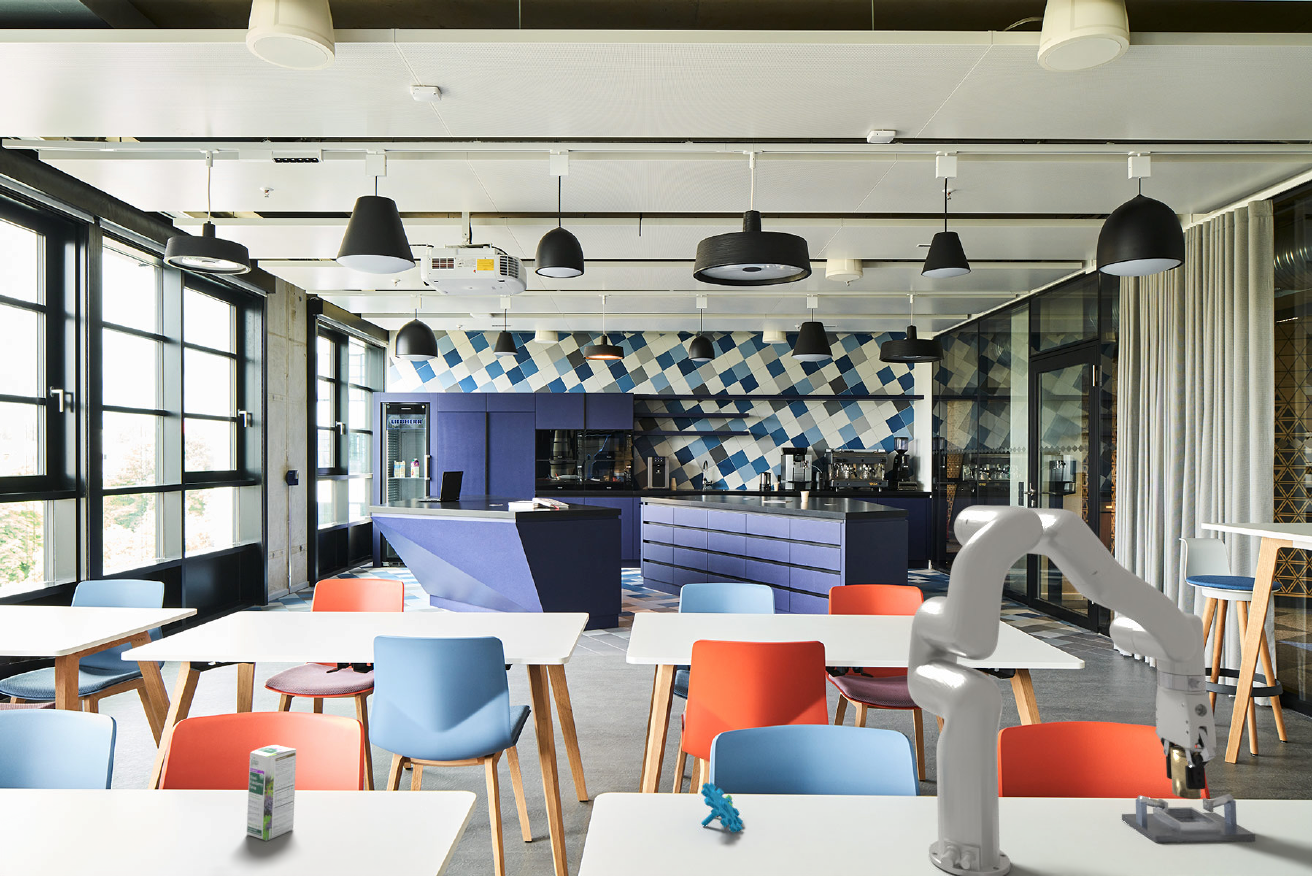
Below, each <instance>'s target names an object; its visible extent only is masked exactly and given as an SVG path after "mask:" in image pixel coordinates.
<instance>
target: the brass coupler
mask: <svg viewBox="0 0 1312 876" xmlns="http://www.w3.org/2000/svg"><path fill="white" fill-rule="evenodd" d="M1170 750H1171V773H1172V779H1171V790H1172V791H1171V792H1172V794H1173V795H1174V796H1176V797H1180V798H1183V799H1188V800H1200V799H1201V798H1202V789H1193V790H1190V789H1188V788H1187V787H1186V774H1185V766H1188V763H1187V757H1186V752H1185V748H1183V747H1181V746H1172V747H1170ZM1197 754H1198V752H1193V757H1195V756H1196V755H1197Z"/></svg>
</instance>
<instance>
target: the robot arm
mask: <svg viewBox="0 0 1312 876" xmlns="http://www.w3.org/2000/svg"><path fill="white" fill-rule="evenodd" d="M953 530H954V534H955V535H954V536H955V538H956V540H957V541H958V542H959V544H960V545H961V546H962V547H961V548H960V550H959V551H958V552H957V554H956V556H955V558H954V560H953V562H952V565H951V570H950V575H949V583H948V589H947V594H946V595H947V596H941V595H940V596H932V597H930V598H928V599H926V600H925V601H923V602H922V603H921V604H920V605H919V607H918V608H917V610H916V612H915V614H914V617H913V619H912V623H911V630H910V642H909V649H908V650H909V651H908V663H907V664H908V665H907V679H906V680H907V690H908V693H909V695H910V698H911V699H912V700H913V702H914V704H915V705H917V706H918V707H919V708H921V709H923V710H925V711H926V712H928V713H930V714H932V715H935V716H937V717H940V718H941V719H943V726H942V729H941V731H940V733H939V736H938V740H937V742H936V743H937V744H936V788H937V789H936V790H937V791H936V792H937V793H936V794H937V796H936V797H937V799H936V800H937V841H935V842H933V843H932V844H930V846H929V848H928V857H929V859H930V861H931V862H932V863H933V864H934V865H935V866H937V867H938V868H939V869H941V870H944V871H945V872H947V873H951V874H953V875H957V876H1005V875H1007V874H1008V873H1009V872H1010V870H1011V859H1010V858H1009V856H1008V855H1007V854H1006V853H1005V852H1004V851H1002V850H1001V847H1000V812H999V811H1000V809H999V807H1000V806H999V804H1000V803H999V768H998V763H999V762H998V745H999V744H998V741H999V739H998V738H999V733H1000V732H999V731H1000V725H1001V719H1002V715H1003V714H1002V713H1003V708H1004V707H1003V705H1004V701H1003V696H1002V692H1001V689H1000V687H999V685H998V684H997V683H996V682H995V681H994V680H993V678H991V677H990V676H989V675H988V674H986V673H984V672H983V671H980V670H977V669H976V668H972V667H969V666H967V665H963V664H960V663H958V662H957V661H958V658H961V659H962V658H963V659H967V660H972V661H982V660H986V659H988V658H990V657H991V656H992V655H993V654H994V653H995V652H996V649H997V646H998V643H999V642H998V641H999V632H1000V623H1001V613H1002V612H1001V609H1002V600H1003V599H1002V598H1003V597H1002V596H1003V589H1004V583H1005V580H1006V577H1007V575H1008V572H1009V571H1010V569H1011V568H1012V566H1013V565H1014V564H1015V563H1016V562H1017V561H1019V560H1020V559H1021V558H1022V557H1024V556H1025V555H1027V554H1031V555H1032V554H1033V555H1041V556H1042V555H1043V556H1046V557H1048V558H1049V559H1050V561H1051V562H1052V563H1053V564H1054V565H1055V567H1056V568H1057V569H1058V570H1059V572H1061V573H1062V574H1063V576H1064V577H1065V578H1066V579H1067V581H1068V582H1069V583H1070V584H1071V585H1072V586H1073V587H1074V590H1076V591H1077V593H1079V594H1080V595H1081V596H1083V597H1084V598H1086V599H1088V600H1089V601H1091V602H1093V603H1095V604H1097V605H1098V606H1099V605H1100V606H1101V607H1104V608H1106V609H1108V610H1111V611H1114V612H1115V613H1118V614H1119V615H1117V616H1116V617H1115V618H1114V619H1112V621H1111V623H1110V626H1109V635H1110V639H1111V641H1112V642H1113V644H1114V645H1115V646H1117V647H1118V648H1119V649H1121V650H1123V651H1125V652H1126V653H1130V654H1134V655H1138V656H1141V657H1147V658H1153V659H1156V677H1157V681H1156V683H1157V689H1156V697H1155V698H1156V699H1155V726H1156V728H1155V734H1156V735H1157V737H1158V739H1159V740H1160V744H1161V745H1162V747H1163V754H1164V756H1165V766H1166V767H1165V768H1166V779H1169V780H1172V773H1171V750H1170V747H1172V746H1181V747H1183V748H1185V752H1186V757H1187V763H1188V766H1185V774H1186V787H1187V788H1188V789H1190V790H1193V789H1201V790H1205V789H1206V771H1205V768H1206V767H1207V766H1208V763H1209V762H1210V760H1213V759H1214V758H1215V757H1216V752H1215V750H1216V748H1217V737H1216V735H1217V734H1216V726H1215V717H1214V712H1213V706H1212V703H1211V698H1210V696H1209V693H1207V682H1206V679H1207V677H1206V676H1207V675H1206V661H1205V660H1206V657H1205V656H1206V655H1205V654H1206V653H1205V637H1204V622H1203V620H1202V618H1201V617H1200V616H1199V615H1197V614H1194V613H1189V612H1183V611H1182V610H1181V609H1180V608H1179V607H1178V605H1177V604H1176V603H1175V602H1174V601H1173V600H1172V599H1171V598H1169V597H1168V596H1167V595H1166V594H1164V593H1163V592H1162V591H1160V590H1159V589H1157V588H1156V587H1155V586H1153V585H1152V584H1150V583H1148V582H1147V581H1146V580H1144V579H1143V578H1141V577H1139V576H1138V575H1136V574H1135V573H1133V572H1132V571H1130V570H1128V569H1127V568H1125V567H1124V566H1122V565H1121V564H1120V563H1119V561H1117V559H1116V558H1115V557H1114V555H1112V553H1111V552H1110V551H1109V549H1108V548H1107V547H1106V546H1105V545H1104V543H1103V542H1102V541H1101V540H1100V538H1099V537H1098V536H1097V535H1096V534H1095V533H1094V531H1093V530H1092V528H1091V527H1090V526H1089V525H1088V524H1087V523H1086V522H1085V521H1084V519H1083V518H1082V517H1081V516H1080V515H1079V514H1077V513H1075V512H1074V511H1073V510H1069V509H1065V508H1064V509H1063V508H1048V507H1047V508H1046V507H1045V508H1044V507H1043V508H1042V507H1041V508H1038V507H1023V506H1013V505H983V504H982V505H979V504H978V505H977V504H976V505H975V504H974V505H971V506H968V507H965V508H964V509H962V511H960V512H959V513H958V514H957V516H956V518H955V521H954V525H953ZM1193 752H1198V754H1197V755H1196V756H1195V757H1193ZM1207 768H1208V767H1207Z"/></svg>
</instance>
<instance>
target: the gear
mask: <svg viewBox="0 0 1312 876" xmlns="http://www.w3.org/2000/svg"><path fill="white" fill-rule="evenodd" d="M701 787H702V788H703V789H701V791H700V793H701V794H702V796H704V800H703V801H704V804H705V806H707V807H710V808H712V809H711V810H710V814H709V815H708V816H706V818H705V819H704V820H702V821H701V825H702V826H703V825H704V826H706V825H707V826H708V825H710V823H712V822H713V820H714V819H716V818H717V819H718V818H719V817H720V819H721V820H719V823H720V824H721V826H723V827H724V828H726V827H727V826H728V830H729V831H730V832H732V833H733V834H734V833H736V832H737V833H739V831H740V832H741V831H742V830H743V827H742V825H743V824H744V821H743V820H742V818H740V817H739V816H740V811H739V810H738V808H735V807H733V804H734V803H733V801H732V800H733V798H732V796H731V794H727V795H726V796H725V797H724V796H723V795H725V792H724V791H723V789H722V788H720V787H719V788H717V787H716V785H715V784H714V783H713V782H710V783H708V782H705V783H704V784H702V786H701ZM716 788H717V790H716ZM707 826H706V827H707Z"/></svg>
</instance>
